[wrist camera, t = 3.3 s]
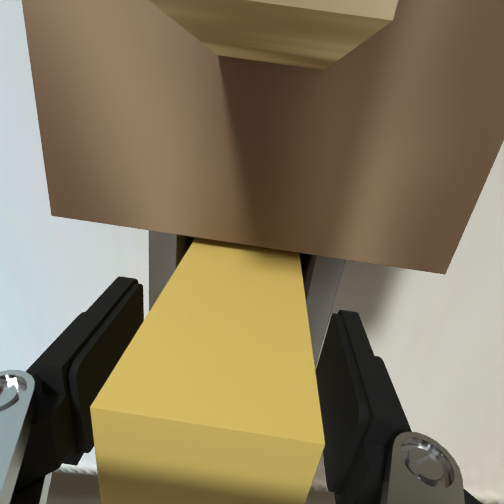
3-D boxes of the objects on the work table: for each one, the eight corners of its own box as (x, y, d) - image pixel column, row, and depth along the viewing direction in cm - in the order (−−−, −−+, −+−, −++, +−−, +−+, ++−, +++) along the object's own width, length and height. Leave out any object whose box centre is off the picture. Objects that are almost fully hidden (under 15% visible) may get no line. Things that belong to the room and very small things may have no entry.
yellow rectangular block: (291, 196, 20) (325, 444, 5) (280, 254, 22) (284, 562, 7) (227, 186, 20) (89, 407, 5) (221, 245, 22) (104, 533, 7)
